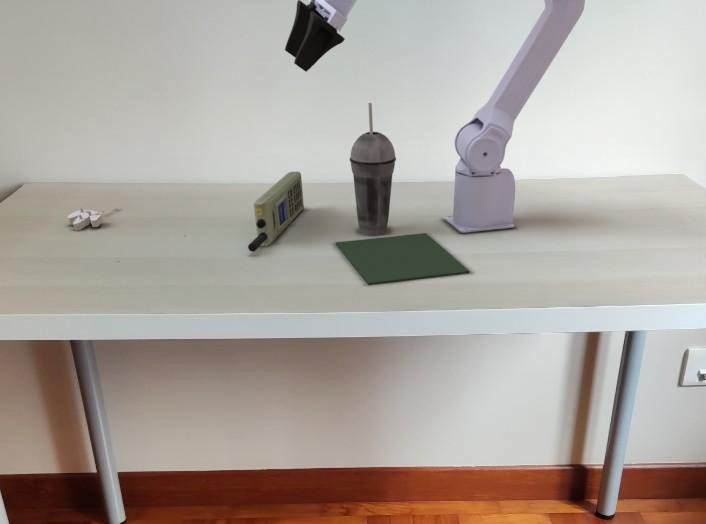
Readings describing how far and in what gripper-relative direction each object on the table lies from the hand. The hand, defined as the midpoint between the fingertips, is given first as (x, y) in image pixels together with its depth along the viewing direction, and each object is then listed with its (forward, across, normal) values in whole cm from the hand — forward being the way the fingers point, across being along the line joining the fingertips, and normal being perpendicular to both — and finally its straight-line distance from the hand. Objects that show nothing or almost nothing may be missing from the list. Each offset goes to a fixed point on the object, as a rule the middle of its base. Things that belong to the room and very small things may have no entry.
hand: (295, 60), depth 120 cm
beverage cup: (+14, +7, +24) cm, 28 cm away
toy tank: (+42, -12, -10) cm, 44 cm away
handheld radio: (+24, +2, +12) cm, 26 cm away
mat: (+12, +20, +23) cm, 33 cm away
